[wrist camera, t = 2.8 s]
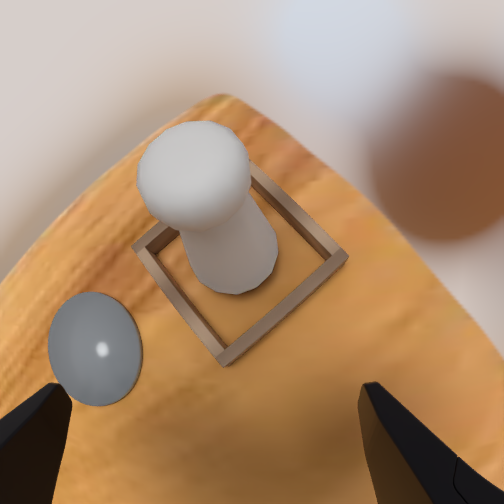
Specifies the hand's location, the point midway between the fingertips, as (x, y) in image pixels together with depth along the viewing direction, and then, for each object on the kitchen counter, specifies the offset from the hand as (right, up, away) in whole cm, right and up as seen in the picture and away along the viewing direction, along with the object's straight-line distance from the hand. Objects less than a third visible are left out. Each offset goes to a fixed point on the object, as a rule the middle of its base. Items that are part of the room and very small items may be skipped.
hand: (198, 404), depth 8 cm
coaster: (-11, -3, +14) cm, 18 cm away
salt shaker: (0, +4, +15) cm, 15 cm away
